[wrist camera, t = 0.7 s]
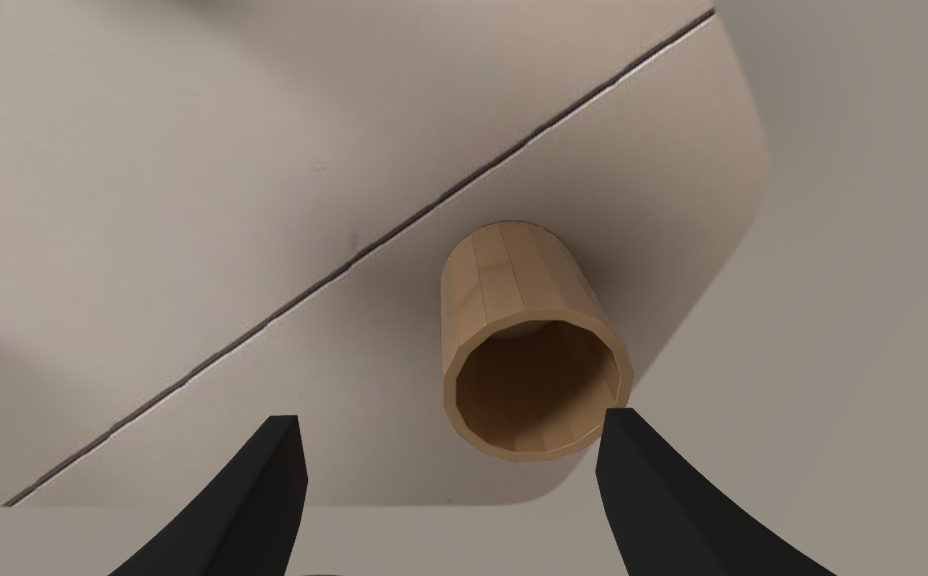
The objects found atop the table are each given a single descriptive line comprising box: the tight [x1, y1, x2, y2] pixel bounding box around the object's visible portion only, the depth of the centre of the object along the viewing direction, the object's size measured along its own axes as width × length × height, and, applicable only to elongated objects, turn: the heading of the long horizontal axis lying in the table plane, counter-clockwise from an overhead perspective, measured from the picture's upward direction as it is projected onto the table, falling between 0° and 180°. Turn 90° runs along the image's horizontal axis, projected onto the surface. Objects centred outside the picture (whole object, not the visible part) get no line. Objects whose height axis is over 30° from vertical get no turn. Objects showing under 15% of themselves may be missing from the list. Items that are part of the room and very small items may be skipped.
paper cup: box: [440, 221, 633, 462], centre depth 18 cm, size 6×6×7 cm
